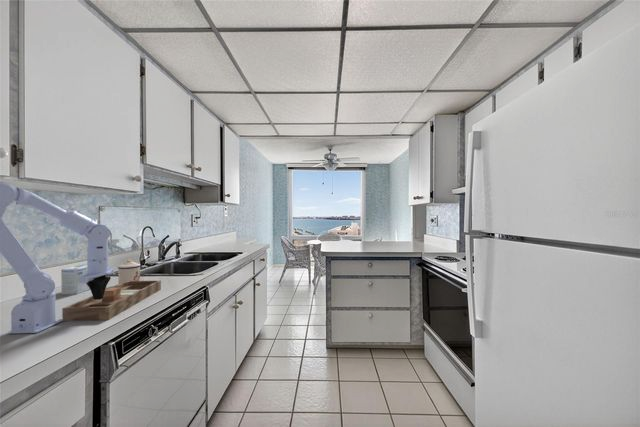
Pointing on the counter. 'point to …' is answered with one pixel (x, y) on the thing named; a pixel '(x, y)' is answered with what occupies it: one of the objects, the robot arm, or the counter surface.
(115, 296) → the block
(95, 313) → the track
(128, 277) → the teacup with lid
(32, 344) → the counter surface
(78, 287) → the light bulb box
